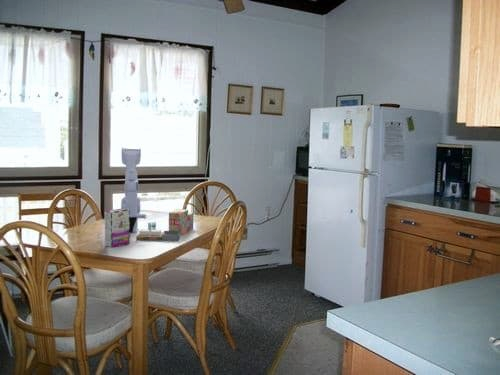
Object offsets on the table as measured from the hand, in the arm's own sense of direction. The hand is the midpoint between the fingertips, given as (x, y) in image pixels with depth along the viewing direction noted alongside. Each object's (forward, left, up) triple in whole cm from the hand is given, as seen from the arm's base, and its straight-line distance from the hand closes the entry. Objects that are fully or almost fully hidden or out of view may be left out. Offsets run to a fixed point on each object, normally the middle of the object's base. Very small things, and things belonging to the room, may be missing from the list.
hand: (130, 232), depth 235 cm
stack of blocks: (+23, +17, -3) cm, 29 cm away
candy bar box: (-3, -15, -3) cm, 16 cm away
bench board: (+10, 0, -3) cm, 10 cm away
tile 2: (+12, 0, -1) cm, 12 cm away
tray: (+20, 0, -3) cm, 20 cm away
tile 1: (+7, 0, -1) cm, 7 cm away
